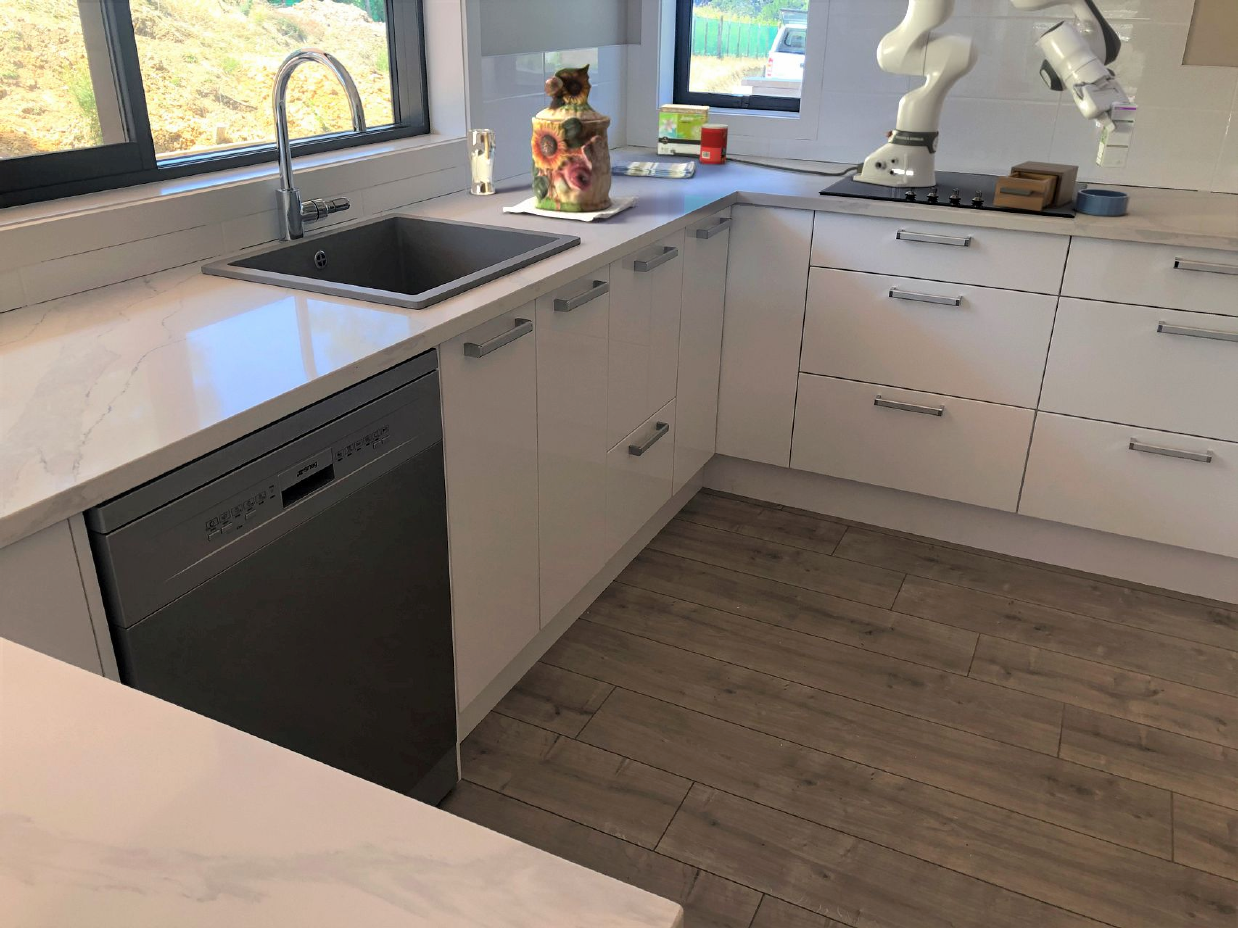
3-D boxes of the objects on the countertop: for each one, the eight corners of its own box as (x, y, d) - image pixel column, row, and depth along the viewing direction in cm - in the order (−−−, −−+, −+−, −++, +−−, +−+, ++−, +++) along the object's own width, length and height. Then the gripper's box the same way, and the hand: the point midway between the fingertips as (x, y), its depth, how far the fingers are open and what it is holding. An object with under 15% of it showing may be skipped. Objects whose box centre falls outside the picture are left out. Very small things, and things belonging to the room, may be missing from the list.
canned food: (726, 164, 306) (729, 126, 301) (700, 164, 306) (702, 126, 301) (724, 161, 313) (727, 124, 308) (699, 160, 313) (700, 123, 308)
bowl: (1069, 212, 246) (1072, 193, 244) (1081, 205, 254) (1084, 187, 253) (1119, 218, 240) (1124, 199, 238) (1130, 211, 248) (1134, 193, 246)
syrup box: (1125, 168, 240) (1140, 104, 234) (1099, 167, 241) (1113, 103, 235) (1119, 165, 245) (1134, 102, 239) (1093, 163, 246) (1108, 100, 240)
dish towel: (692, 179, 280) (692, 169, 278) (608, 175, 283) (608, 165, 282) (697, 170, 295) (697, 160, 294) (618, 166, 298) (618, 156, 297)
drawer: (1035, 213, 238) (1041, 184, 236) (987, 207, 244) (992, 178, 242) (1056, 203, 251) (1061, 175, 249) (1009, 197, 257) (1014, 170, 255)
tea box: (657, 155, 321) (658, 106, 315) (661, 151, 330) (662, 103, 324) (704, 157, 319) (706, 108, 313) (706, 153, 328) (709, 105, 322)
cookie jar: (547, 197, 250) (546, 58, 236) (640, 206, 241) (644, 63, 228) (499, 214, 229) (495, 63, 216) (598, 225, 221) (600, 68, 207)
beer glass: (485, 189, 258) (483, 128, 252) (502, 193, 254) (501, 131, 248) (463, 192, 254) (461, 130, 248) (480, 196, 249) (478, 133, 243)
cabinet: (1056, 208, 251) (1063, 172, 247) (1005, 201, 257) (1011, 167, 254) (1071, 200, 261) (1078, 166, 258) (1022, 194, 268) (1028, 161, 264)
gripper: (1082, 74, 232) (1115, 123, 230) (1116, 70, 245) (1148, 116, 243) (1059, 93, 236) (1091, 141, 235) (1093, 88, 250) (1125, 134, 248)
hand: (1120, 128), depth 239 cm, fingers closed on syrup box, 7 cm apart
